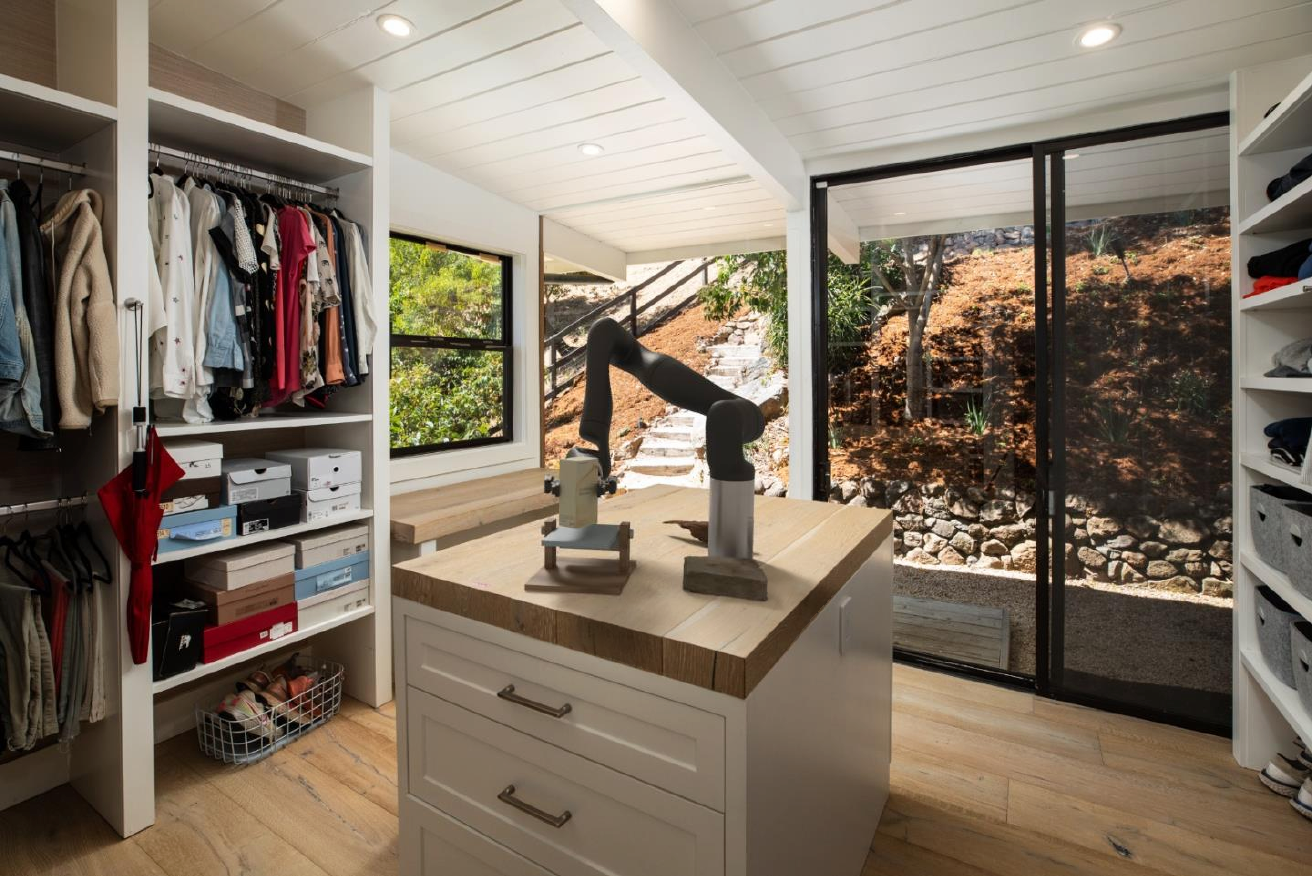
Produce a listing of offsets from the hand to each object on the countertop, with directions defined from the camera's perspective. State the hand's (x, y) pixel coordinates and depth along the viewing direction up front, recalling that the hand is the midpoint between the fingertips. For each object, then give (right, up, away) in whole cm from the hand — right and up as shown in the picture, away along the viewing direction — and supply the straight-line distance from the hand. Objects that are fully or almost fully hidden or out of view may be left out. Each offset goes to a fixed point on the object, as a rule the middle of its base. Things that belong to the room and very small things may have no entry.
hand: (578, 491), depth 120 cm
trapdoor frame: (0, -17, +8) cm, 18 cm away
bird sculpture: (+25, -15, +36) cm, 46 cm away
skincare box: (0, -6, +3) cm, 7 cm away
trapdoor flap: (0, -13, +7) cm, 15 cm away
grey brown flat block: (+26, -18, +4) cm, 32 cm away
